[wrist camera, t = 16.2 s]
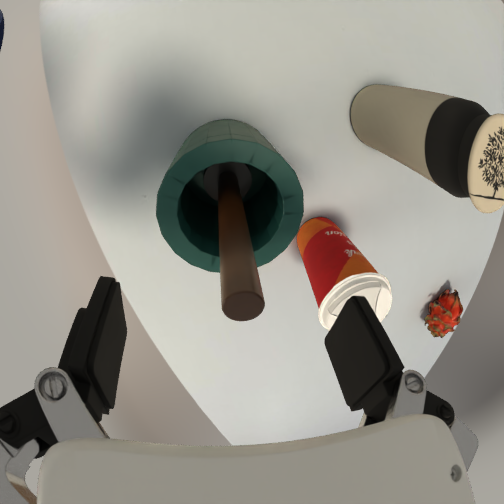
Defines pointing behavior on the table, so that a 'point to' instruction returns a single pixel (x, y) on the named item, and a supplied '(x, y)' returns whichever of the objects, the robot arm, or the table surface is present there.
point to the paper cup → (339, 271)
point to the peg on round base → (235, 241)
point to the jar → (206, 208)
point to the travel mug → (436, 139)
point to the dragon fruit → (444, 314)
